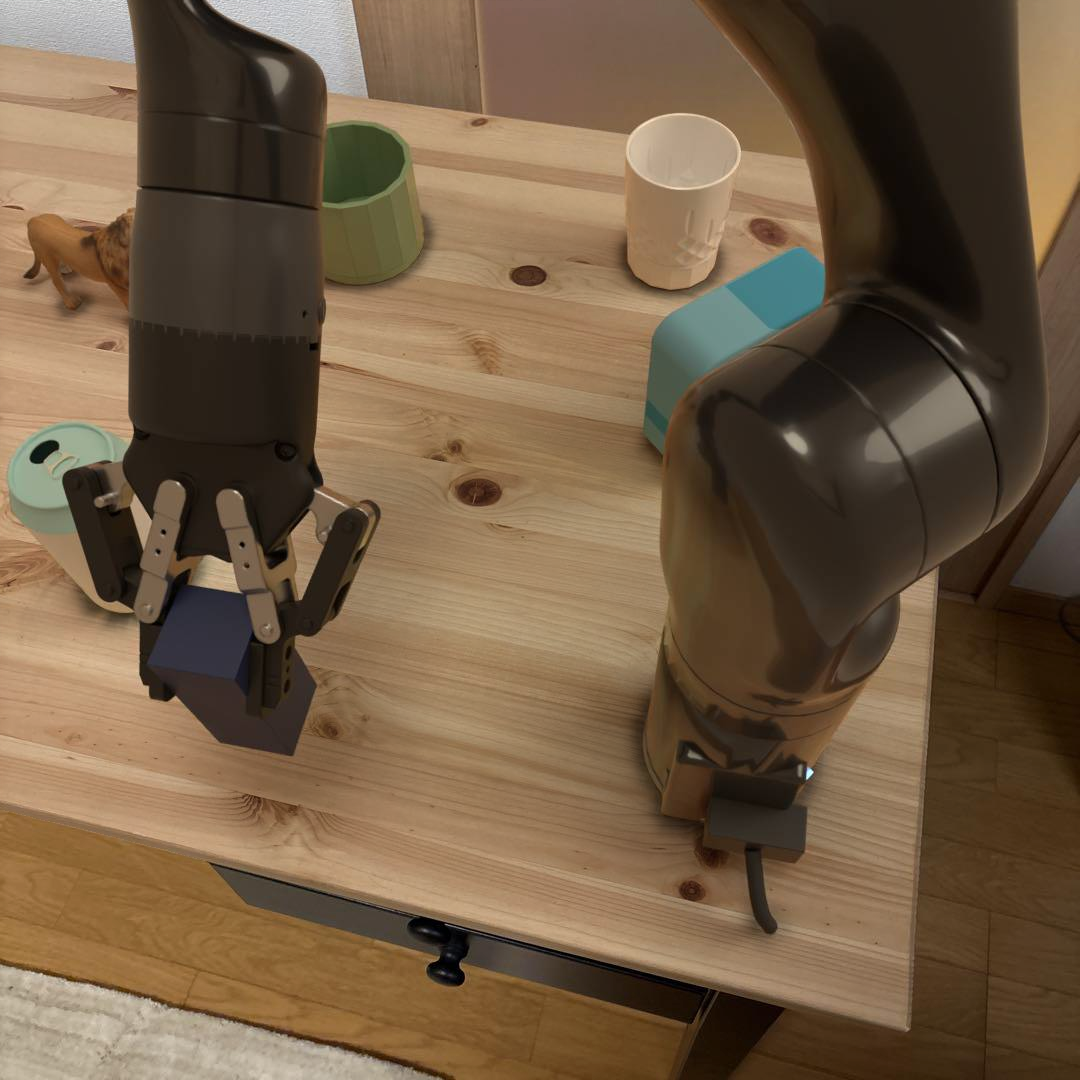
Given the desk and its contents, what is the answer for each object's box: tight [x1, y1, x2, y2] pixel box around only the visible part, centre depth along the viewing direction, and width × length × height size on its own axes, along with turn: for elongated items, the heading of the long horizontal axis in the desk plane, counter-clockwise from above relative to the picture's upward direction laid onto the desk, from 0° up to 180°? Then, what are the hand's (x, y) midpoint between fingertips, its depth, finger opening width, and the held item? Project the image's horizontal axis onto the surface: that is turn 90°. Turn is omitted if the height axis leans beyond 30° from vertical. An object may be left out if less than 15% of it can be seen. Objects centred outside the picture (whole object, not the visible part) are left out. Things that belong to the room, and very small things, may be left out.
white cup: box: [624, 112, 742, 291], centre depth 73 cm, size 8×8×10 cm
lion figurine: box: [22, 206, 135, 313], centre depth 73 cm, size 15×5×9 cm, turn 77°
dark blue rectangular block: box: [147, 584, 318, 757], centre depth 47 cm, size 4×4×10 cm
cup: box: [318, 119, 425, 286], centre depth 76 cm, size 9×9×8 cm
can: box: [6, 420, 152, 614], centre depth 59 cm, size 7×7×12 cm
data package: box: [642, 246, 825, 456], centre depth 64 cm, size 12×4×12 cm, turn 123°
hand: (216, 701), depth 45 cm, fingers closed on dark blue rectangular block, 4 cm apart
